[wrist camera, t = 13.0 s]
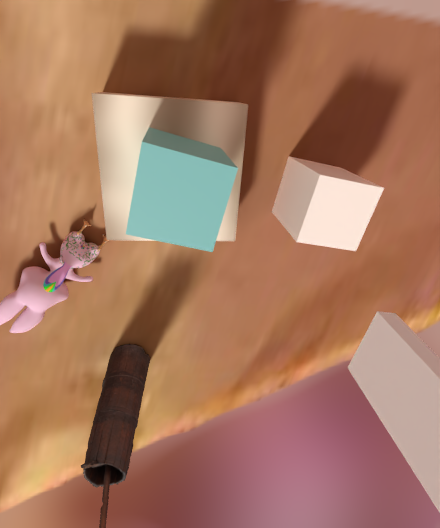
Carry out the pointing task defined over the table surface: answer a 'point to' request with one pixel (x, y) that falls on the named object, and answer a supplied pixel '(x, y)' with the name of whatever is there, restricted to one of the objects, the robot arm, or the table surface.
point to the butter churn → (116, 420)
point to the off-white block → (325, 204)
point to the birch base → (168, 120)
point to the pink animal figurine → (48, 281)
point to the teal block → (180, 191)
